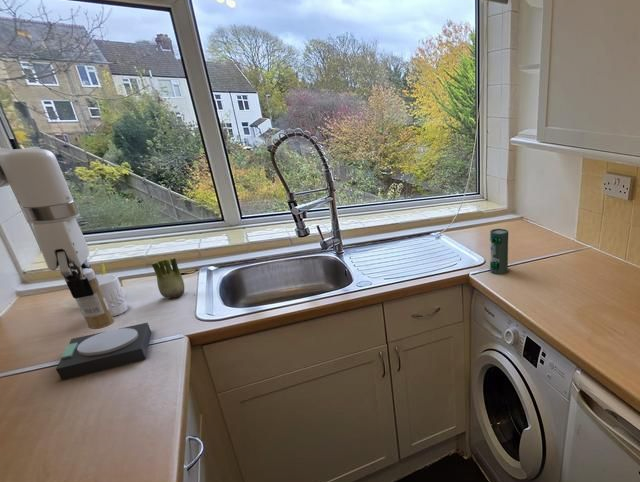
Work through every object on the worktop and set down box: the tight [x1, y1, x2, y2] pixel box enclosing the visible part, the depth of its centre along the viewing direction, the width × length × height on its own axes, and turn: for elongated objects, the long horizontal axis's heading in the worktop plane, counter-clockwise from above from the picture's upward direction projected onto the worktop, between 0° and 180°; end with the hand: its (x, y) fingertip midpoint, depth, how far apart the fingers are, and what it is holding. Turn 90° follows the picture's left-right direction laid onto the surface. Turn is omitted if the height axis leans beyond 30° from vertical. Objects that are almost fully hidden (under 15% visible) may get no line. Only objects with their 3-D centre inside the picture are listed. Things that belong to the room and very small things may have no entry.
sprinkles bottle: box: [72, 268, 115, 330], centre depth 91 cm, size 5×5×13 cm
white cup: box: [96, 274, 129, 317], centre depth 112 cm, size 8×8×10 cm
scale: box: [55, 322, 152, 381], centre depth 96 cm, size 14×14×4 cm
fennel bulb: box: [151, 257, 185, 299], centre depth 121 cm, size 6×5×12 cm
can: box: [489, 228, 509, 275], centre depth 145 cm, size 6×6×15 cm
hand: (86, 291), depth 90 cm, fingers closed on sprinkles bottle, 4 cm apart
